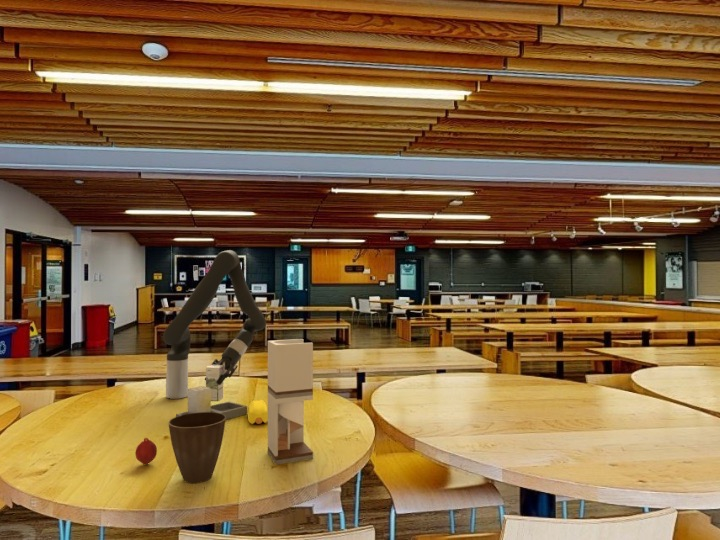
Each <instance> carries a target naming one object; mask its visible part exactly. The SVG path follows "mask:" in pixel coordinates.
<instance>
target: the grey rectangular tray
mask: <svg viewBox="0 0 720 540" xmlns="http://www.w3.org/2000/svg"><path fill="white" fill-rule="evenodd" d="M211 412H215V413H221V414H223V415H225V416H226V420H231V419H234V418H237V416H238V417H240V416H245V415H248V406H247V405H244V404H240V403H237V402H233V401H225V402H221V403H217V404H211ZM185 414H188V411H184V412H180V413H176V414H175V417H177V416H181V415H185ZM233 417H234V418H233ZM226 420H225V421H226Z"/></svg>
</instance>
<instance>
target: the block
mask: <svg viewBox="0 0 720 540" xmlns="http://www.w3.org/2000/svg"><path fill="white" fill-rule="evenodd" d="M211 406H212V401H211V388H208V387H206V386H203V385H200V386H195V387H191V388H189V387H188V396H187V412H188V414H190V413H198V412H211Z"/></svg>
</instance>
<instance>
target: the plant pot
mask: <svg viewBox="0 0 720 540" xmlns="http://www.w3.org/2000/svg"><path fill="white" fill-rule="evenodd" d="M225 426H226V416H225V415H223V414H221V413H215V412H198V413H190V414H185V415H181V416H177V417H176V416H175V417H172V418H171V419H169V421H168V428H169V429H168V430H169V436H170V441H171V446H172V449H173V450H172V451H173V454H174V457H175V458H174V459H175V461H176V463H177V467H178V469H179V473H180V474H181V477H182V479H183V481H184V482H185V481H186V482H185V483H188V482H190V484H197V483H198V482H199V483H204V482H206V481H208V480H210V479H211V478H212V477H213V474H214V472H215V469H216V466H217V463H218V460H219V457H220V456H219V455H220V452H221V448H222V443H223V440H224V433H225Z"/></svg>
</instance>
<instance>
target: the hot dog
mask: <svg viewBox="0 0 720 540" xmlns="http://www.w3.org/2000/svg"><path fill="white" fill-rule="evenodd" d="M247 421H248V422H249V423H250V424H251V425H254V424H257V425H261V424H262V423H263V424H266V423H268V404H267V402H265V401H264V400H263V399H258V400H257V399H256V400H255V399H252V401H251V402H249V403H248V406H247Z"/></svg>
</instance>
